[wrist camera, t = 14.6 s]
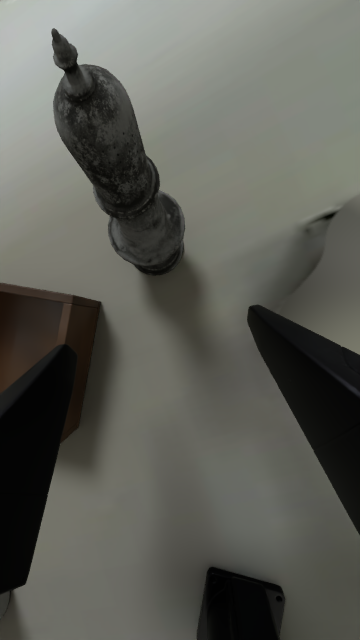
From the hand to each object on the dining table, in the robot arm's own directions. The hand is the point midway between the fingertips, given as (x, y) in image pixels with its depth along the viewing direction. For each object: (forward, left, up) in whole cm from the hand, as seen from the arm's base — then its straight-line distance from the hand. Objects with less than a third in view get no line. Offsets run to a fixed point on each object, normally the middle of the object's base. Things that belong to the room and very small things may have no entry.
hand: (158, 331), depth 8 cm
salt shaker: (+7, +3, -8) cm, 11 cm away
